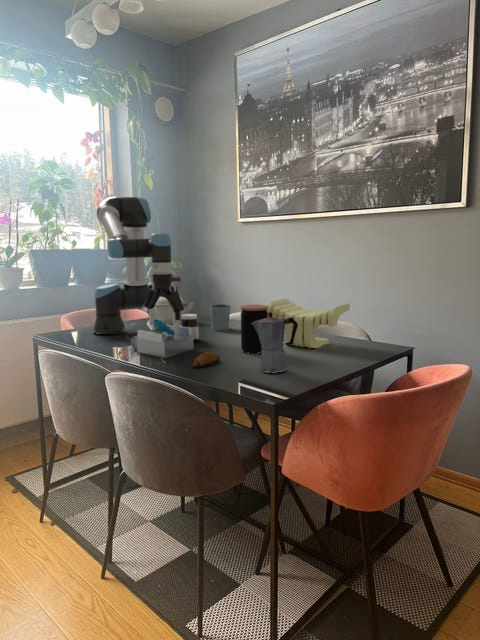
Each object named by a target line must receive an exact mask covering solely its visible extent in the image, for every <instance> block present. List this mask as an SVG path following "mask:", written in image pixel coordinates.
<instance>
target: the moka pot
mask: <svg viewBox="0 0 480 640" xmlns="http://www.w3.org/2000/svg"><path fill="white" fill-rule="evenodd" d="M268 316H269V317H268V318H265V319H261V320H258V321H254V322H253V323H252V325H253V326H254V328H255V330H256V332H257V333H258V335H259V340H260V343H261V346H262V351H261V353H260V354H261V358H260V371H261V370H263V371H269V372H277V371H282V370H286V368H287V369H288V367H287V361H286V356H285V352H284V351H285V350H284V342H285V324H289V323H293V324H294V327H293V331H292V335H291V339H290V342H288V343H287V342H285V346H289V345H292V344H293V340H294V337H295V333H296V330H297V327H298V324H297V322H296V321H295V320H294V319H293V318H292V317H291V318H288V319H287V318H284V319H279V318H273V317H272V313H271V312H270V313H268ZM286 371H287V370H286Z"/></svg>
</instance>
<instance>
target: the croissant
mask: <svg viewBox="0 0 480 640" xmlns="http://www.w3.org/2000/svg"><path fill="white" fill-rule="evenodd" d="M220 360H221V357H220V355H219V354H217V353H216V354H215V353H212V352H209V351H205V352H202V353H201V354H199V355H198V357H196V358H195V359H194V361H193V363H192V368H193V369H198V368H204V367H207V366H212V365H214V364H216V363H218V362H219V361H220Z"/></svg>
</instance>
